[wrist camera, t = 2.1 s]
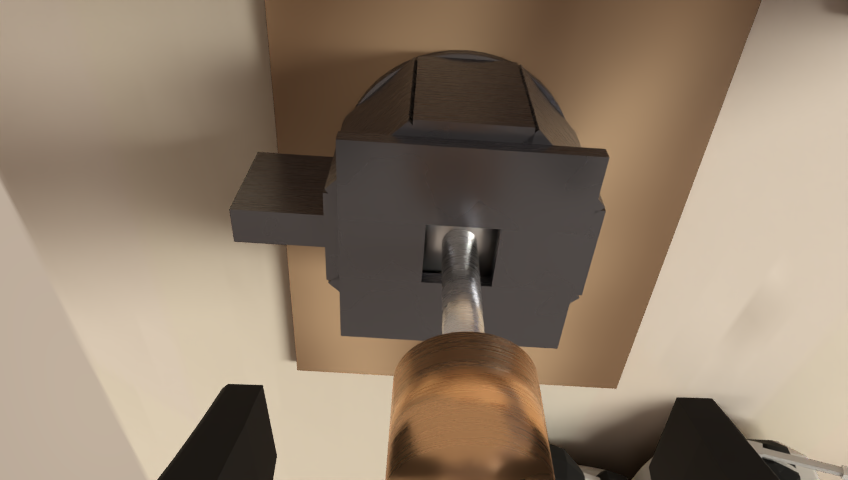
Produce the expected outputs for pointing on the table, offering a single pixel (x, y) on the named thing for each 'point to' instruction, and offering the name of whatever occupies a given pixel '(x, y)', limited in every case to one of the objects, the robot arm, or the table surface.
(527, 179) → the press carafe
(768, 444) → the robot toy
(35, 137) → the table surface
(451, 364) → the plunger
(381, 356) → the walnut board
